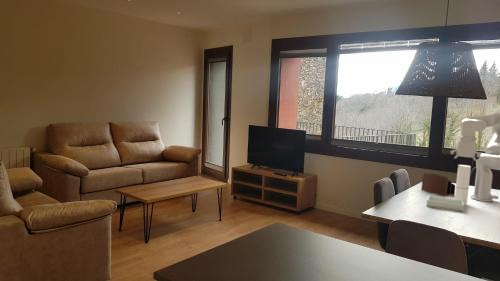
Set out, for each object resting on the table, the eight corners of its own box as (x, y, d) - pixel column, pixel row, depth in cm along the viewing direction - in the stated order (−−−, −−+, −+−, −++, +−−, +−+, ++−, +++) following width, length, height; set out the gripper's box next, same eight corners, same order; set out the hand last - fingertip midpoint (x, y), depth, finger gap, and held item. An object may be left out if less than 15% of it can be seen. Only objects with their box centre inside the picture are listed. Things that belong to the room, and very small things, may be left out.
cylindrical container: (466, 203, 246) (470, 165, 244) (467, 205, 240) (471, 167, 237) (453, 201, 249) (457, 164, 247) (454, 204, 243) (458, 166, 240)
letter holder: (445, 196, 262) (447, 177, 260) (421, 190, 279) (422, 171, 277) (454, 195, 266) (456, 176, 265) (429, 189, 284) (431, 170, 282)
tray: (462, 206, 238) (463, 200, 238) (463, 211, 226) (463, 205, 225) (427, 201, 247) (428, 195, 247) (426, 206, 235) (427, 200, 235)
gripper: (482, 139, 239) (479, 166, 241) (451, 137, 247) (449, 163, 249) (483, 140, 232) (480, 168, 234) (451, 138, 240) (449, 164, 242)
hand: (464, 165), depth 242 cm, fingers open, 9 cm apart
